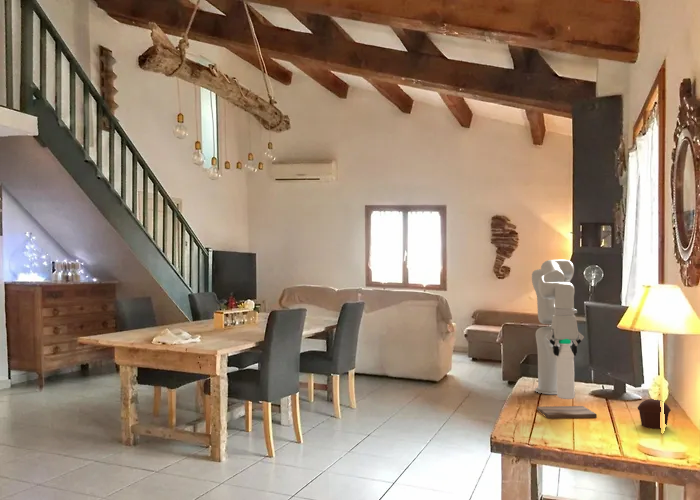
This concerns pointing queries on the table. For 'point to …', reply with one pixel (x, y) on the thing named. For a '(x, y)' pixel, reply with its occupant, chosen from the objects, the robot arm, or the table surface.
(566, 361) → the water bottle
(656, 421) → the muffin
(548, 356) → the robot arm
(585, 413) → the walnut board
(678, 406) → the table surface
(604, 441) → the table surface
